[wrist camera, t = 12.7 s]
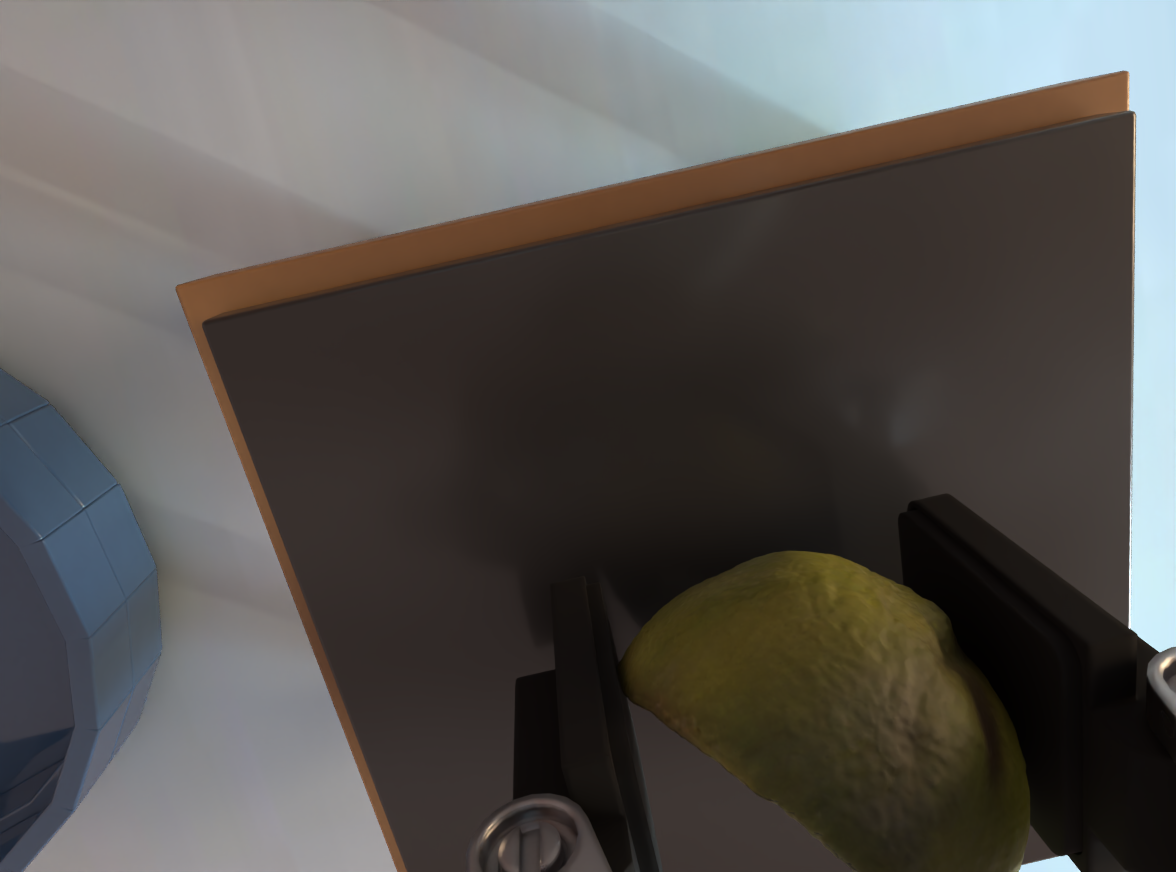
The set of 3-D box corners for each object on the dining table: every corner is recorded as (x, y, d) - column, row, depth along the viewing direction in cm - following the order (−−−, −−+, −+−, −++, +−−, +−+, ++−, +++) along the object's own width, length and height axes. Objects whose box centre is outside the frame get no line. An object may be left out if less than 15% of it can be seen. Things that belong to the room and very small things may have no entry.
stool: (325, 242, 20) (145, 293, 10) (867, 120, 20) (1175, 61, 10) (469, 699, 24) (435, 1027, 15) (911, 597, 24) (1155, 855, 15)
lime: (886, 739, 13) (1092, 1062, 8) (596, 746, 13) (638, 1090, 8) (931, 490, 12) (1209, 708, 7) (606, 490, 11) (665, 721, 6)
